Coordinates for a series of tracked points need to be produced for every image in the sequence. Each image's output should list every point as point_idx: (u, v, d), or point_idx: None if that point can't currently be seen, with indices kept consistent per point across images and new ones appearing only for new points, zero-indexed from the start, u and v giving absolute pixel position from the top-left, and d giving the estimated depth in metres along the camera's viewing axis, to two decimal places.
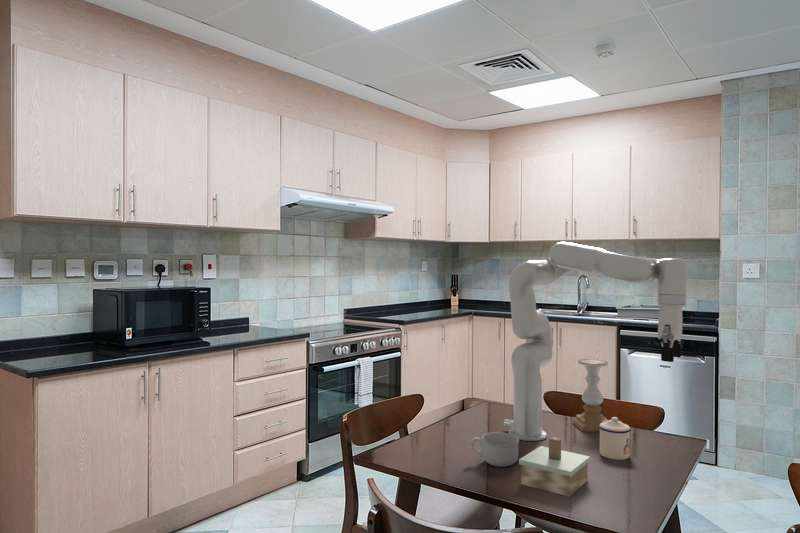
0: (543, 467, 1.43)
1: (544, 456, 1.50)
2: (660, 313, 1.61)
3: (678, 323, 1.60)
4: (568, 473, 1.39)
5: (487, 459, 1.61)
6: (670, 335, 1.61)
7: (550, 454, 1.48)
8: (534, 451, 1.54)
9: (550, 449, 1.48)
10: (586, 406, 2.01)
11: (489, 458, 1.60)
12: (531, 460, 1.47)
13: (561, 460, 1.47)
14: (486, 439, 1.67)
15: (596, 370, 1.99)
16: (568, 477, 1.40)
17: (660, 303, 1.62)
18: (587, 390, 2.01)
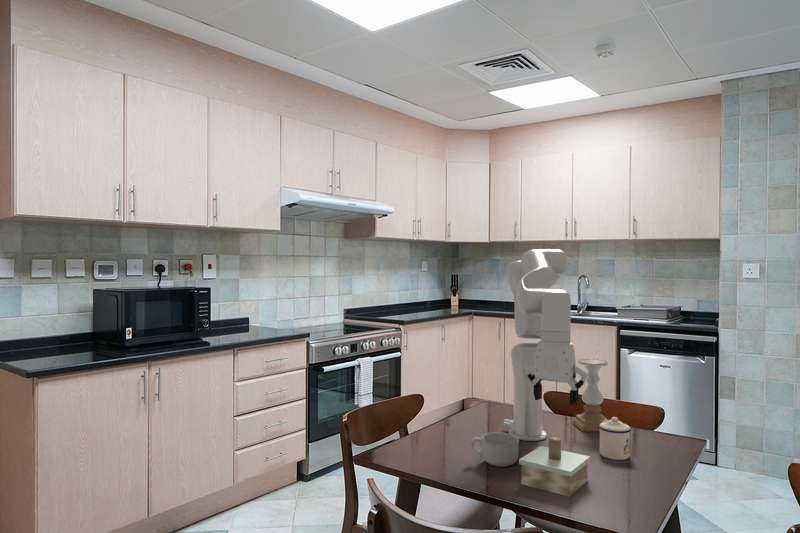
0: (543, 467, 1.43)
1: (544, 456, 1.50)
2: (569, 353, 1.44)
3: None
4: (568, 473, 1.39)
5: (487, 459, 1.61)
6: None
7: (550, 454, 1.48)
8: (534, 451, 1.54)
9: (550, 449, 1.48)
10: (586, 406, 2.01)
11: (489, 458, 1.60)
12: (531, 460, 1.47)
13: (561, 460, 1.47)
14: (486, 439, 1.67)
15: (596, 370, 1.99)
16: (568, 477, 1.40)
17: (562, 342, 1.45)
18: (587, 390, 2.01)
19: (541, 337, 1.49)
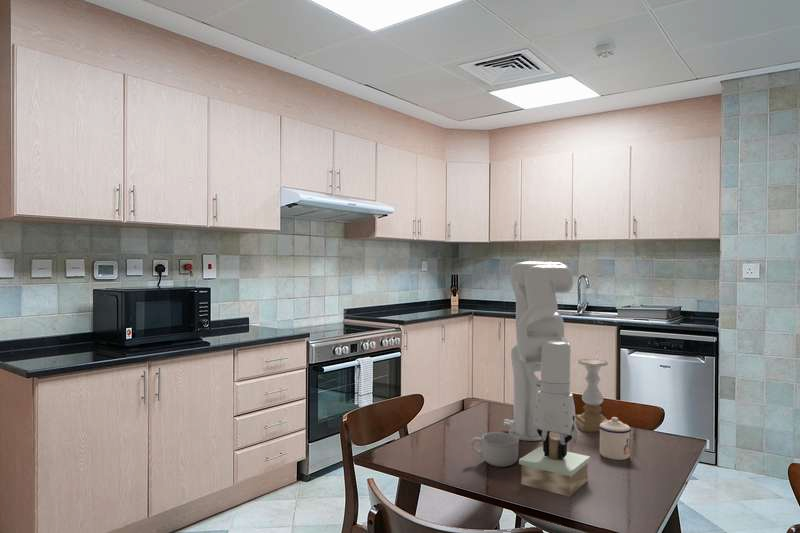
0: (543, 467, 1.43)
1: (544, 456, 1.50)
2: (569, 405, 1.44)
3: None
4: (568, 473, 1.39)
5: (487, 459, 1.61)
6: None
7: (550, 454, 1.48)
8: (534, 451, 1.54)
9: (550, 449, 1.48)
10: (586, 406, 2.01)
11: (489, 458, 1.60)
12: (531, 460, 1.47)
13: (561, 460, 1.47)
14: (486, 439, 1.67)
15: (596, 370, 1.99)
16: (568, 477, 1.40)
17: (562, 393, 1.45)
18: (587, 390, 2.01)
19: (541, 387, 1.49)
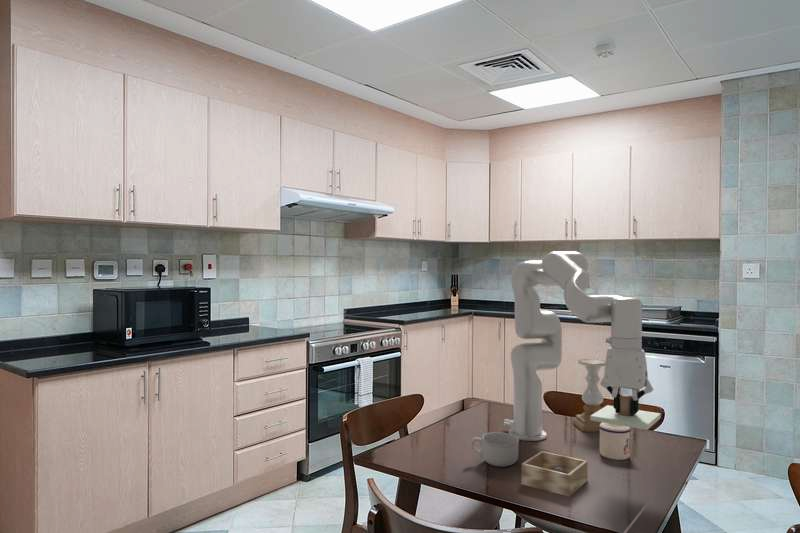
0: (617, 422, 1.43)
1: (614, 413, 1.49)
2: (642, 360, 1.44)
3: None
4: (644, 426, 1.39)
5: (487, 459, 1.61)
6: None
7: (621, 410, 1.47)
8: (603, 409, 1.53)
9: (621, 405, 1.47)
10: (586, 406, 2.01)
11: (489, 458, 1.60)
12: (603, 416, 1.46)
13: (633, 416, 1.46)
14: (486, 439, 1.67)
15: (596, 370, 1.99)
16: (568, 477, 1.40)
17: (635, 349, 1.44)
18: (587, 390, 2.01)
19: (611, 344, 1.48)
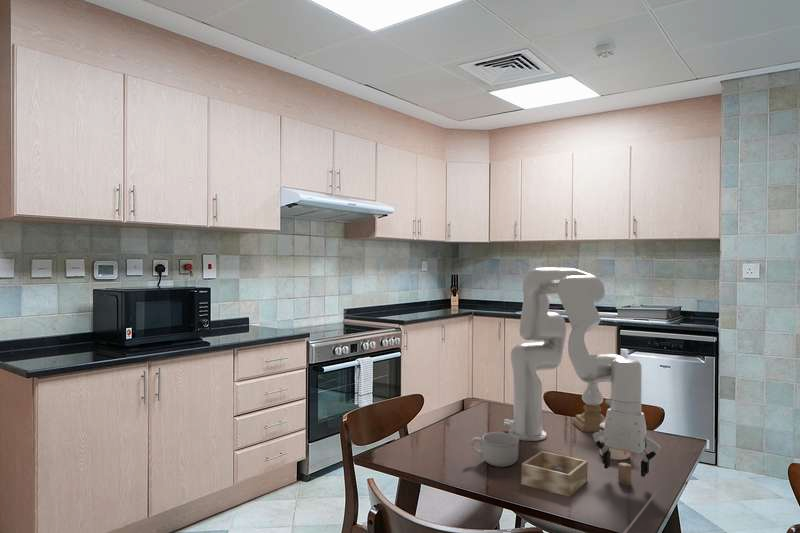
0: None
1: None
2: (641, 424, 1.44)
3: None
4: None
5: (487, 459, 1.61)
6: None
7: (620, 480, 1.48)
8: None
9: (620, 475, 1.48)
10: (586, 406, 2.01)
11: (489, 458, 1.60)
12: None
13: None
14: (486, 439, 1.67)
15: None
16: (568, 477, 1.40)
17: (634, 412, 1.45)
18: (587, 390, 2.01)
19: (611, 406, 1.48)
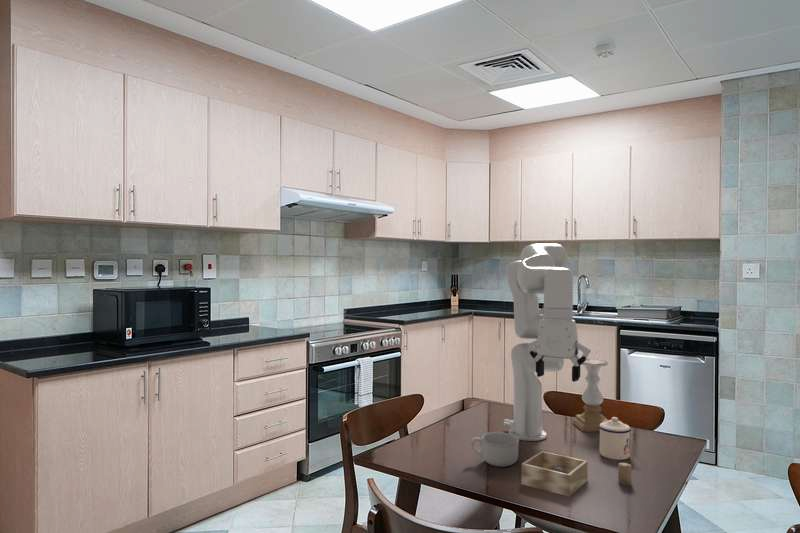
0: None
1: None
2: (571, 329, 1.45)
3: None
4: None
5: (487, 459, 1.61)
6: None
7: (620, 480, 1.48)
8: None
9: (620, 475, 1.48)
10: (586, 406, 2.01)
11: (489, 458, 1.60)
12: None
13: None
14: (486, 439, 1.67)
15: (596, 370, 1.99)
16: (568, 477, 1.40)
17: (565, 318, 1.46)
18: (587, 390, 2.01)
19: (543, 314, 1.50)
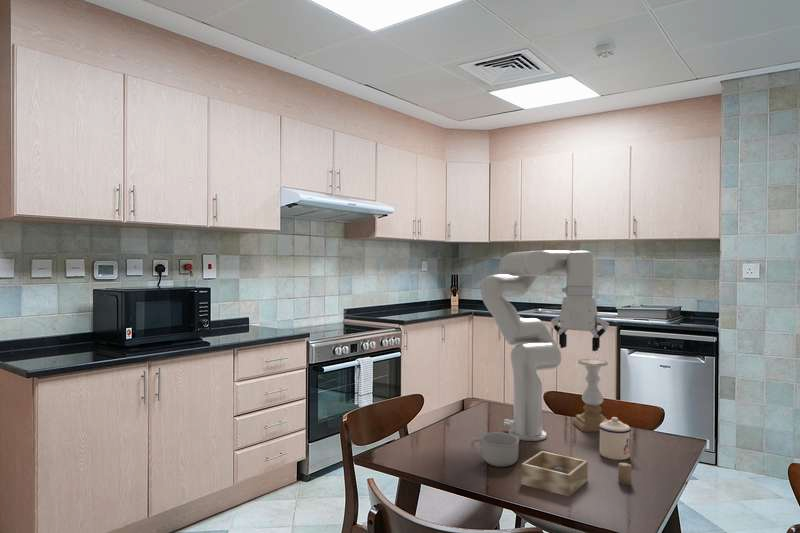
0: None
1: None
2: (592, 305, 1.64)
3: None
4: None
5: (487, 459, 1.61)
6: None
7: (620, 480, 1.48)
8: None
9: (620, 475, 1.48)
10: (586, 406, 2.01)
11: (489, 458, 1.60)
12: None
13: None
14: (486, 439, 1.67)
15: (596, 370, 1.99)
16: (568, 477, 1.40)
17: (586, 295, 1.64)
18: (587, 390, 2.01)
19: (566, 292, 1.68)
